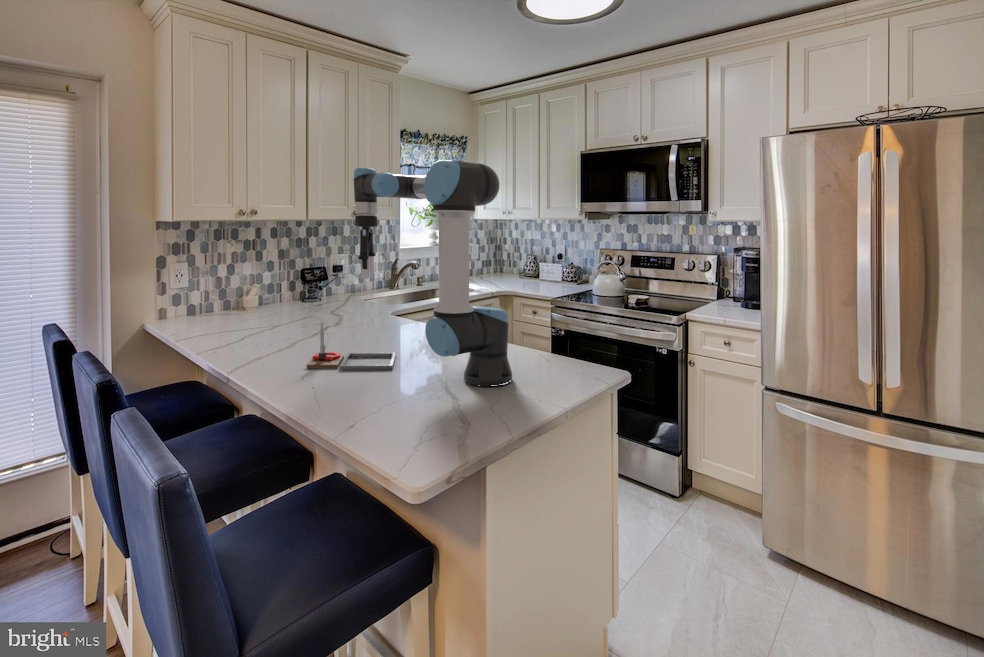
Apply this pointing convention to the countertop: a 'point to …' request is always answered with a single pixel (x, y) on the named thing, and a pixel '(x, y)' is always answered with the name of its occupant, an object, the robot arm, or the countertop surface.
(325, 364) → the walnut board
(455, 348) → the robot arm
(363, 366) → the grey square tray
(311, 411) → the countertop surface
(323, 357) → the tow hook
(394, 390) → the countertop surface
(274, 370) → the countertop surface
